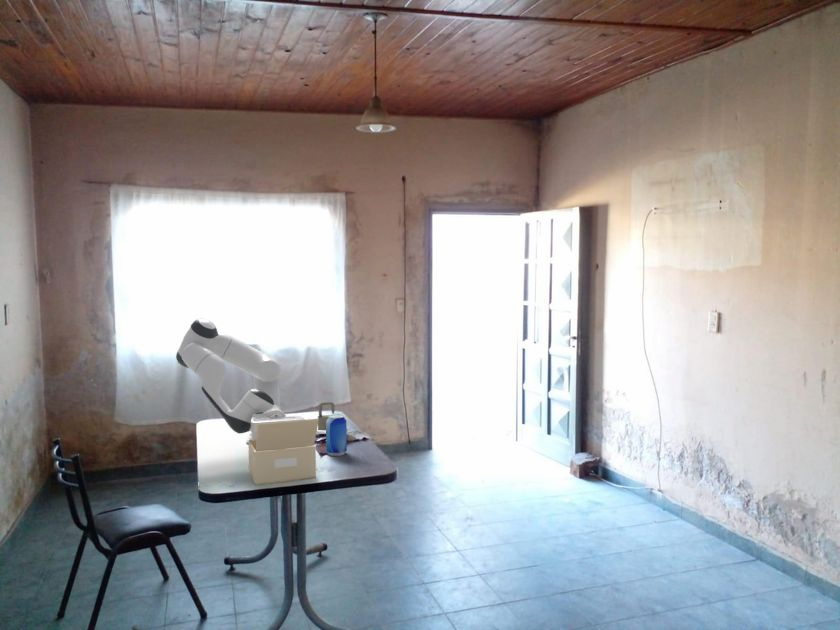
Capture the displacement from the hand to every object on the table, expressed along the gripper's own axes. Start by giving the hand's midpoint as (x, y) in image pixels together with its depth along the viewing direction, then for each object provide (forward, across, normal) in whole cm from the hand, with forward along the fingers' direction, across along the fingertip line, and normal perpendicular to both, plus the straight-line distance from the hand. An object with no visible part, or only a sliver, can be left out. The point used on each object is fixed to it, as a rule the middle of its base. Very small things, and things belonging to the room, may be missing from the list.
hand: (281, 428), depth 245 cm
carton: (-4, -1, -18) cm, 19 cm away
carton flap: (+9, 0, 0) cm, 9 cm away
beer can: (-23, -27, -18) cm, 40 cm away
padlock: (-58, -32, -18) cm, 69 cm away
